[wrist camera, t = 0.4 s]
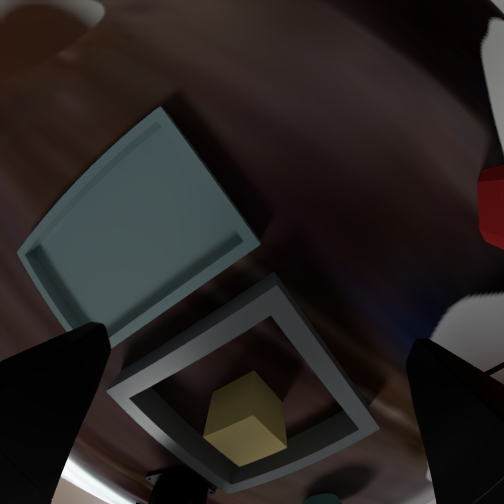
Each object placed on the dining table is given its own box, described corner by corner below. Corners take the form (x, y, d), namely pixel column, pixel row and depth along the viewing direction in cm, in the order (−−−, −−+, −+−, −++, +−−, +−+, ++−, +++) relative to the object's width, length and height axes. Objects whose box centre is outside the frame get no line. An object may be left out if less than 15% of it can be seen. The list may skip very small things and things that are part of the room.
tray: (100, 352, 24) (91, 362, 22) (29, 248, 22) (16, 252, 20) (260, 240, 22) (260, 244, 20) (168, 113, 20) (160, 105, 18)
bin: (230, 471, 27) (228, 494, 23) (120, 370, 24) (106, 390, 21) (369, 406, 25) (380, 428, 21) (274, 271, 22) (277, 284, 19)
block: (242, 421, 25) (239, 466, 19) (212, 391, 25) (202, 437, 19) (282, 401, 25) (287, 447, 19) (253, 369, 24) (253, 415, 18)
